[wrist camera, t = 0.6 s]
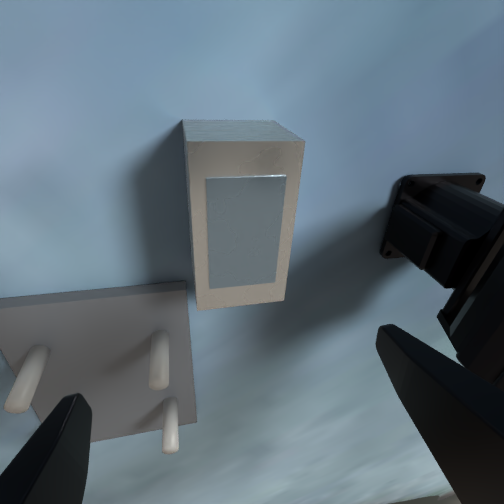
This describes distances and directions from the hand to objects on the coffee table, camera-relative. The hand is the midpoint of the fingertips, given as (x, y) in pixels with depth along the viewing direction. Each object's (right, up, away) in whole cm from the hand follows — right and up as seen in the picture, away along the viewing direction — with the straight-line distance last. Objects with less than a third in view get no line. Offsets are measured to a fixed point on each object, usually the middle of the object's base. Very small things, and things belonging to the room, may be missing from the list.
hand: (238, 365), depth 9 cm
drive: (-1, +7, +10) cm, 12 cm away
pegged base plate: (-10, -6, +15) cm, 20 cm away
